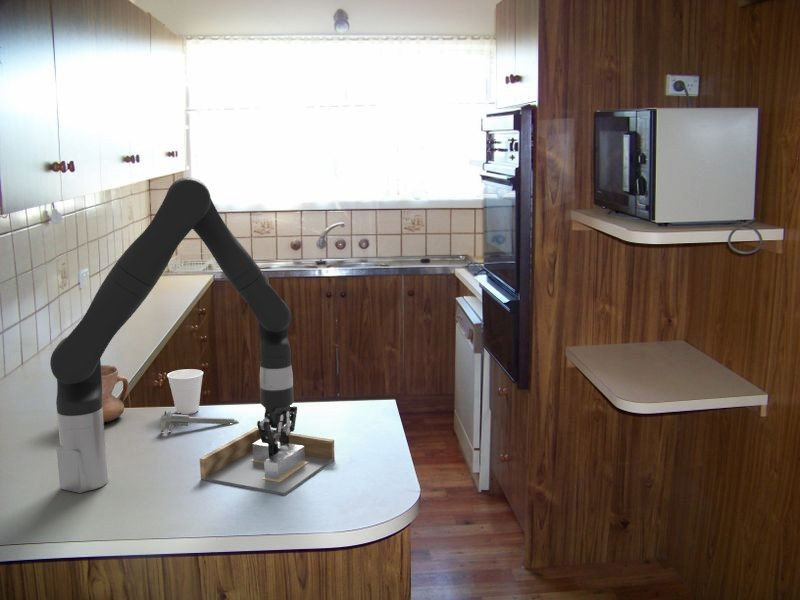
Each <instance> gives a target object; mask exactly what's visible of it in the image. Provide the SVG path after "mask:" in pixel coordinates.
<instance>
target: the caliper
mask: <svg viewBox="0 0 800 600" xmlns="http://www.w3.org/2000/svg"><path fill="white" fill-rule="evenodd" d="M159 422H160V424H159V425H160V432H165V427H166V424H167V423H168V424H169V425H168V429H167V430H169V431H171V430H173V428H174V427H175V426H176V425H178V426H186V427H188V425H189V424H202V425H203V424H205V425H207V424H209V425H210V424H211V425H231V424H230V423H234V424H239V423H240V422H239V421H238V420H237V419H236V420H235V418H234V417H233V418H232V417H231V418H229V417H228V418H227V417H226V418H225V417H209V416H208V417H202V416H190V415H189V414H172V413H171V410H169V411H168V412H167V410H164V414H161V418H160V421H159ZM171 432H172V431H171Z"/></svg>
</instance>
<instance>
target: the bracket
mask: <svg viewBox="0 0 800 600" xmlns="http://www.w3.org/2000/svg"><path fill="white" fill-rule="evenodd" d="M252 445H253V460H256V461H262V462H264V469H265V478H267V479H273V480H280V479H281V478H283V477H284V476H286V475H287V474H289V473H290V472H291V471H293V470H294V469H296V468H297V467H299V466H300V465H302V464H303V463H305V446H301V445H295V444H289V443H282V442H278V453H276V454H275V455H273V456H271V457H270V458H269V452H268V443H262V440H261V439H260V440H258V441H256V442H255V443H253V444H252Z"/></svg>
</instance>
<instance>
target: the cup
mask: <svg viewBox="0 0 800 600" xmlns="http://www.w3.org/2000/svg"><path fill="white" fill-rule="evenodd" d="M203 375H204V371H202V370H200V369H193V368H190V369H189V368H188V369H178V370H173V371H171V372H169V373H167V375H166V377H167V378H168V382H169V387H170V389H171V390H170V391H171V395H172V400H173V404H174V408H175V412H176V413H178V414H179V413H181V414H180V415H192V414H195V413H197V412H198V411H199V408H200V399H201V392H202V391H201V390H202V384H203V383H202V382H203Z"/></svg>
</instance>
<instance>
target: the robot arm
mask: <svg viewBox="0 0 800 600" xmlns="http://www.w3.org/2000/svg"><path fill="white" fill-rule="evenodd" d="M211 197H212V196H211V194H210V191H209V189H208V188H207V186H206V185H205V184H204V182H202V181H201V180H199V179H197V178H194V177H181V178H179V179H177V180H175V181H173V183H172V184H171V185H170V186H169V187H168V189H167V192H166V194H165V197H164V199H163V201H162V203H161V204H160V206H159V208H158V209H157V212H156V213H155V215H154V217H153V218H152V220H151V221H150V223H149V224H148V226H147V227H146V228H145V230H144V231H143V232H141V234H139V236H138V237H137V238H136V239H135V240H134V241H133V242H132V243H131V244H130V245H129V246H128V248H126V250H125V251H124V253H122V255H120V257H119V258H118V259H117V261H116V262H115V264H114V265H113V266H112V268H111V269H110V271H109V272H108V274H107V275H106V276H105V278H104V280H103V282H102V283H101V284H100V287H99V288H98V290H97V292H96V293H95V295H94V298H93V299H92V300H91V303H90V305H89V307H88V309H87V310H86V312H85V314H84V315H83V317H82V318H81V320H80V321H79V322H78V324H77V325H76V326H75V327H74V329H73V330H72V331H71V332H70V334H69V335H67V336H66V337H64V338H63V339H61V341H59V343H58V344H57V345H56V346H55V348H54V349H53V350H52V351H53V352H52V353H51V355H50V362H49V363H50V365H49V366H50V370H51V373H52V375H53V376H54V378H55V379H56V382H57V383H56V384H57V385H56V386H57V387H56V391H57V392H56V402H55V403H56V416H57V423H58V424H57V425H58V434H59V435H58V436H59V446H57V447H56V456H57V457H56V458H57V469H58V470H57V471H58V479H59V489H61V490H64V491H69V492H74V493H78V494H82V493H85V492H89V491H93V490H96V489H97V490H98V489H100V488H101V487H104V486H105V485H106V484H108V482H109V476H108V462H107V452H106V451H107V450H106V449H107V448H106V440H105V439H106V438H105V428H104V427H105V423H104V422H103V409H102V376H101V365H102V364H101V363H102V362H101V359H102V356H103V354H104V353H105V351H106V349H107V348H108V346H109V345H110V343H111V341H112V339H113V338H114V337H115V335H116V334H117V333H118V331H120V329H122V327H123V326H124V325H125V324H126V323H127V322H128V320H129V319H131V317H132V316H133V315H134V313H136V311H138V309H139V307H140V306H141V305H142V304H143V302H145V300H146V299H147V297H148V296H149V295H150V293H151V292H152V290H153V289H154V287H155V286H156V284H157V283H158V282H159V280H160V278H161V277H162V275H163V273H164V272H165V270H166V268H167V266H168V265H169V263H170V261H171V259H172V257H173V256H174V253H175V252H176V249H177V248H178V247H179V245H180V244H181V243H182V241H183V240H184V239H185V238H186V237H187V235H188V234H189V233H190V232H191V231H192V230H193V231H194V233H196V235H198V237H199V238H200V240H201V241H202V242H203V244H204V245H205V246H206V248H207V249H208V251H209V252H210V254H211V255H212V256H213V259H214V260H215V262H216V264H217V265H218V267H219V268H220V270H221V271H222V272H223V274H224V275H225V277H226V278H227V280H228V281H229V283H230V284H231V285H232V287H233V288H234V289H235V290H236V292H237V293H238V294H239V295H240V297H241V298H242V299H244V301H245V302H246V303H247V305H248V307H249V309H250V310H251V311H252V313H253V315H254V316H255V318H256V319H257V325H258V326H257V327H258V334H259V335H258V336H259V341H260V343H259V344H260V345H259V362H260V363H259V365H260V366H259V367H260V368H259V370H260V371H259V389H260V390H259V391H260V392H259V395H260V397H259V398H260V404H261V406H262V407H263V408H264V409H265V412H264V418H263V419H262V420H258V421H257V423H256V426H257V428H258V430H259V433H260V437H261V440H262V443H268V452H269V458H270V457H271V456H273V455H275V454H276V453H278V436H279V435H281V436H280V437H279V442H282V443H289V436H290V434H291V433H293V432H294V431H295V427H296V420H297V413H298V407H297V406H295V405H291V404H294V376H293V369H292V368H293V367H292V352H291V351H292V349H291V344H290V341H289V325H290V323H291V320H292V314H291V313H292V312H291V311H290V310H291V309H290V308H289V307H288V304H286V301H284V299H282V298H281V297H280V295H279V294H278V293H277V292H276V291H275V289H274V288H273V287H272V286H271V284H270V282H269V280H268V279H267V277H266V275H265V274H264V272H263V271H262V270H261V268H260V267H259V265H258V264H257V263H256V261H255V260H254V259H253V257H252V256H251V255H250V253H249V252H248V251H247V249H245V247H244V246H243V245H242V244H241V242H240V241H239V240H238V238H236V236H235V235H234V234H233V232H232V231H231V229H230V228H229V227H228V226H227V224H226V223H225V221H224V220H223V218H222V217H221V215H220V213H219V212H218V210H217V208H216V206H215V204H214V202H213V200H212V198H211ZM290 405H291V406H290ZM272 433H273V434H274V438H273V436H272ZM266 436H267V438H266Z"/></svg>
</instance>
